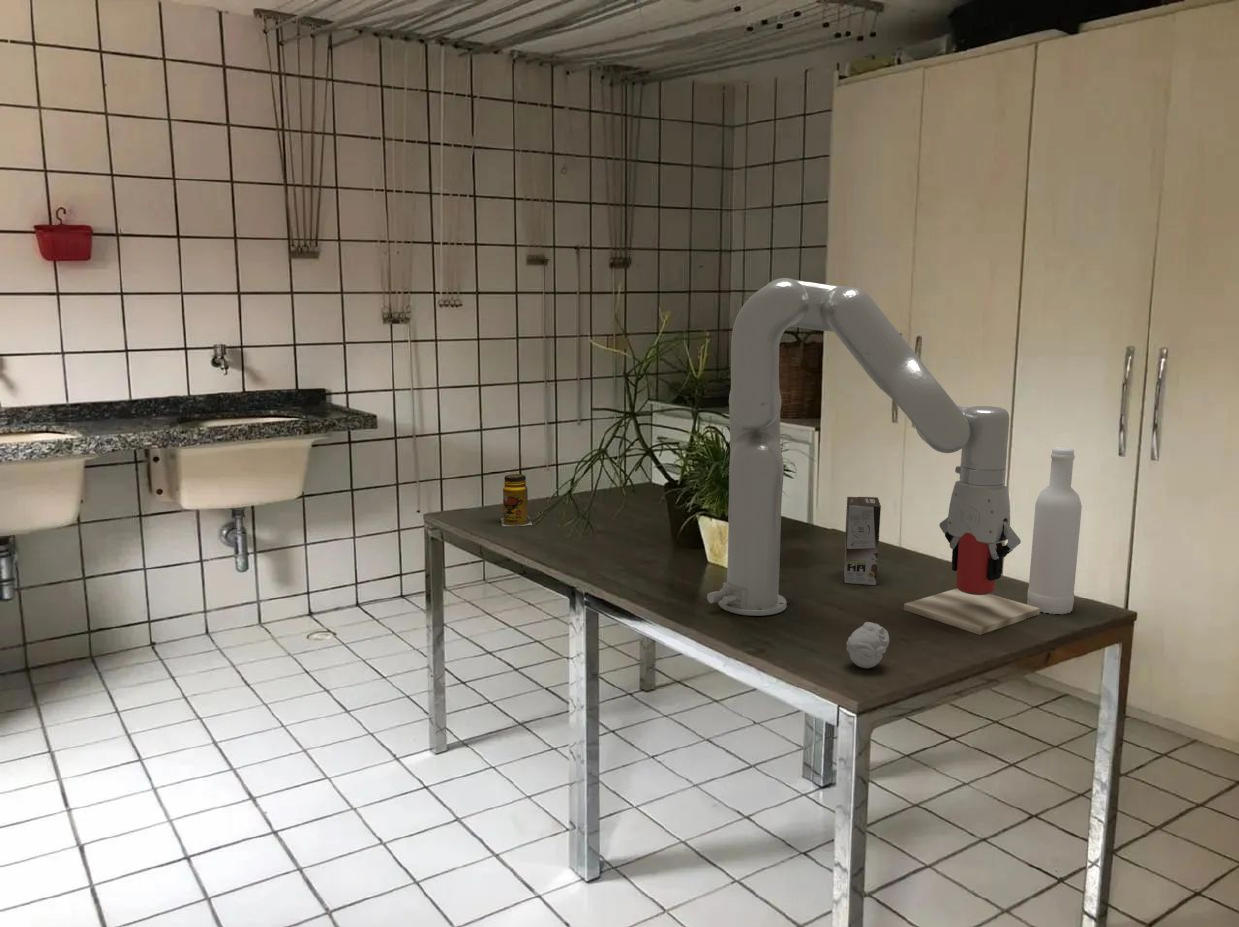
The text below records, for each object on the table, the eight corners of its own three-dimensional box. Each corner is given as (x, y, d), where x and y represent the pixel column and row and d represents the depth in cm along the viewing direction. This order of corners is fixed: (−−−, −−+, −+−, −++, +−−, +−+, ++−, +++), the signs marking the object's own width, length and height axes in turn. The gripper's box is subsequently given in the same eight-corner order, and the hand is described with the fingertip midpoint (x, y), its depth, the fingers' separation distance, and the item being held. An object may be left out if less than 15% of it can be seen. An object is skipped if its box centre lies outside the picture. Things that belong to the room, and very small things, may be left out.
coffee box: (877, 585, 198) (881, 506, 195) (844, 583, 199) (847, 504, 196) (875, 572, 207) (879, 496, 204) (843, 570, 208) (846, 495, 205)
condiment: (502, 527, 243) (501, 478, 241) (500, 518, 252) (499, 472, 249) (532, 525, 245) (531, 477, 242) (529, 517, 253) (528, 471, 251)
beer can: (973, 598, 176) (978, 532, 174) (947, 587, 182) (951, 523, 180) (1002, 593, 179) (1007, 528, 176) (975, 583, 184) (980, 520, 182)
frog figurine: (896, 669, 156) (899, 626, 155) (863, 677, 152) (865, 634, 151) (869, 656, 161) (871, 614, 160) (835, 664, 158) (837, 622, 156)
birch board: (980, 634, 171) (980, 628, 171) (903, 609, 184) (904, 603, 183) (1039, 614, 181) (1039, 608, 181) (963, 592, 194) (963, 586, 194)
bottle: (1028, 598, 190) (1040, 443, 185) (1073, 604, 187) (1087, 446, 181) (1025, 611, 183) (1038, 450, 178) (1072, 617, 180) (1087, 453, 174)
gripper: (928, 471, 181) (922, 566, 184) (1014, 487, 167) (1007, 590, 171) (953, 467, 185) (947, 560, 189) (1039, 482, 172) (1032, 582, 175)
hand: (976, 573), depth 180 cm, fingers closed on beer can, 6 cm apart
